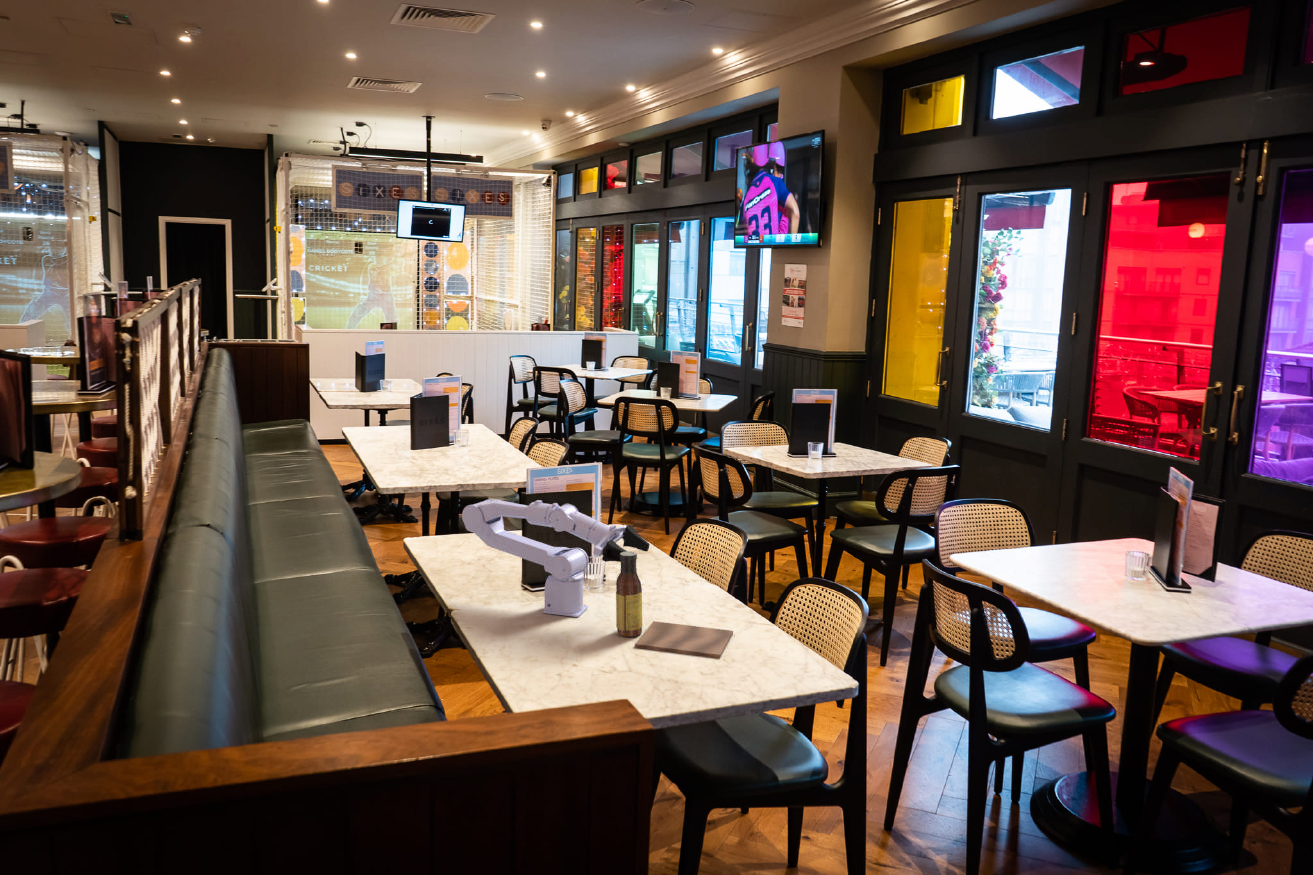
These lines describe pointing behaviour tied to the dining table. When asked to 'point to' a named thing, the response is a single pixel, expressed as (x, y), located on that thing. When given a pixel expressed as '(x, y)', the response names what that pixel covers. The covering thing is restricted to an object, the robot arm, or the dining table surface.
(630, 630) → the sauce bottle
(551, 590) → the robot arm
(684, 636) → the walnut board
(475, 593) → the dining table surface
